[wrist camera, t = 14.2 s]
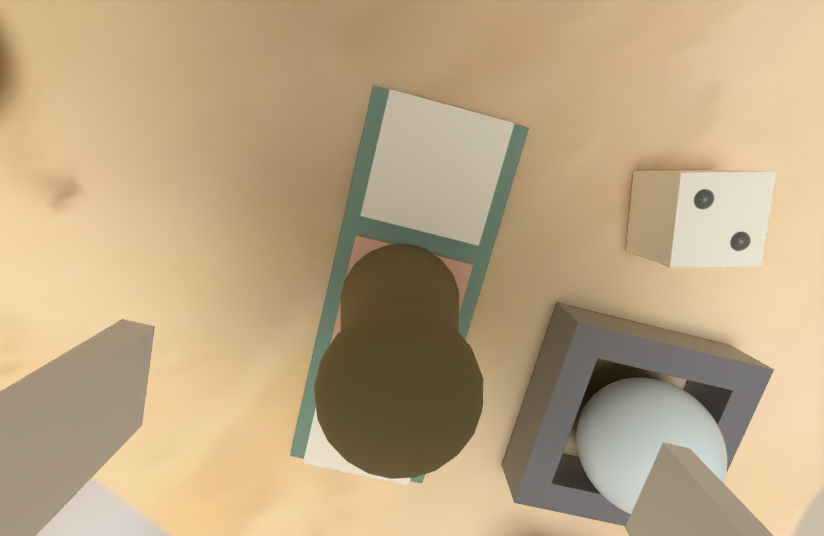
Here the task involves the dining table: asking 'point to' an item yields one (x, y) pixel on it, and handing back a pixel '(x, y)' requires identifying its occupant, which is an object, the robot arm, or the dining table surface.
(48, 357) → the dining table surface
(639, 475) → the white ball
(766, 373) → the base
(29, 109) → the dining table surface
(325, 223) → the dining table surface
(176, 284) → the dining table surface
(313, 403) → the track
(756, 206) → the die
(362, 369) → the brown game pawn
